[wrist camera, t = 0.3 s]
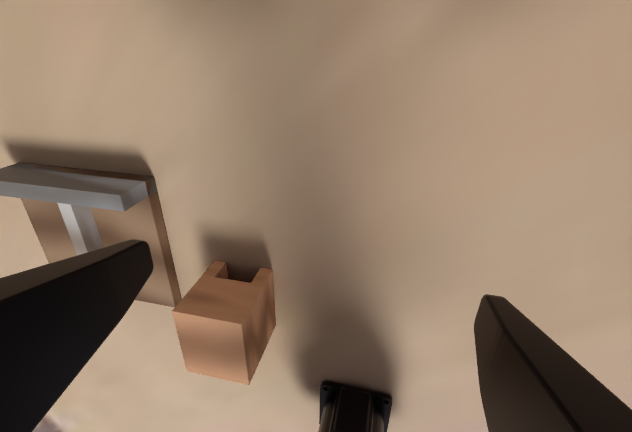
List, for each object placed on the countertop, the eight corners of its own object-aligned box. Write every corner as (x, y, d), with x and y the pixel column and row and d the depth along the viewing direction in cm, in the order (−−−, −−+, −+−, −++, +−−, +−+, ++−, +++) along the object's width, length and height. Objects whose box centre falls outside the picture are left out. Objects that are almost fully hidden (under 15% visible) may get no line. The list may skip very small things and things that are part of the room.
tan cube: (275, 324, 30) (248, 384, 25) (221, 314, 31) (185, 370, 26) (272, 269, 27) (241, 324, 22) (213, 260, 28) (169, 310, 23)
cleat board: (181, 299, 31) (157, 327, 28) (67, 279, 33) (34, 303, 30) (153, 176, 25) (120, 195, 22) (19, 162, 28) (-28, 177, 25)
